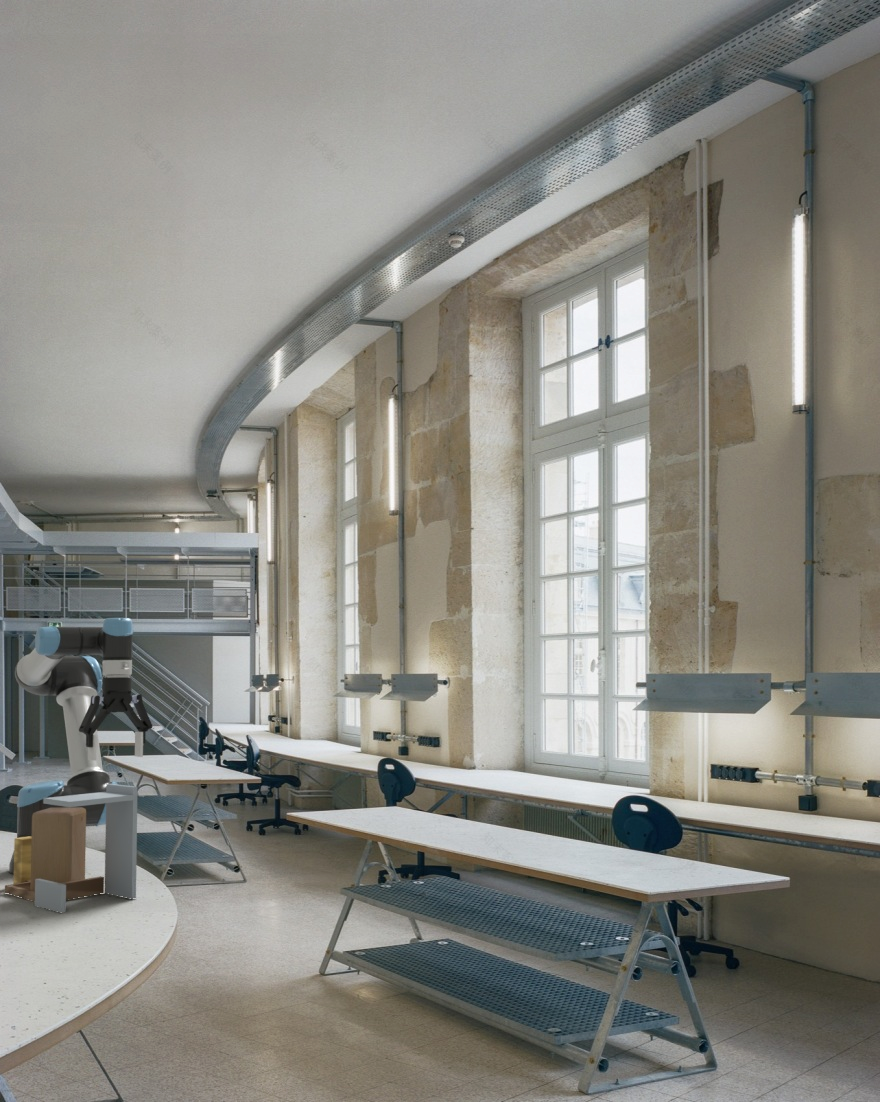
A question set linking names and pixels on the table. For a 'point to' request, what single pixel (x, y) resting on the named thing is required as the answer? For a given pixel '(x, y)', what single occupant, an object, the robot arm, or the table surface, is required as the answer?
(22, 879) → the pull yoke
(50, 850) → the wooden block
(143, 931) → the table surface
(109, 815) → the shelf
